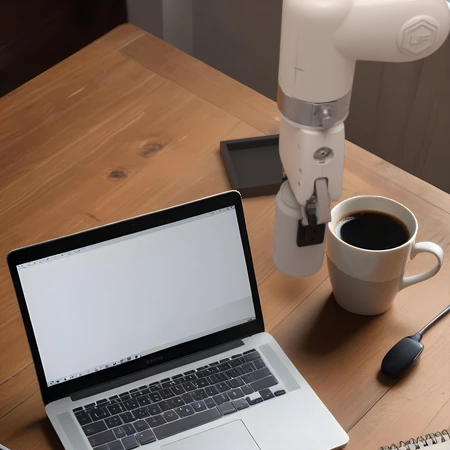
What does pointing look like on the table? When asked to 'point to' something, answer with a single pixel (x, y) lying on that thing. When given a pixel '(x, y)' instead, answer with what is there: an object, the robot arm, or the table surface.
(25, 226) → the table surface
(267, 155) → the coaster
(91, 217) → the table surface
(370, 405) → the table surface
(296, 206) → the beverage can
